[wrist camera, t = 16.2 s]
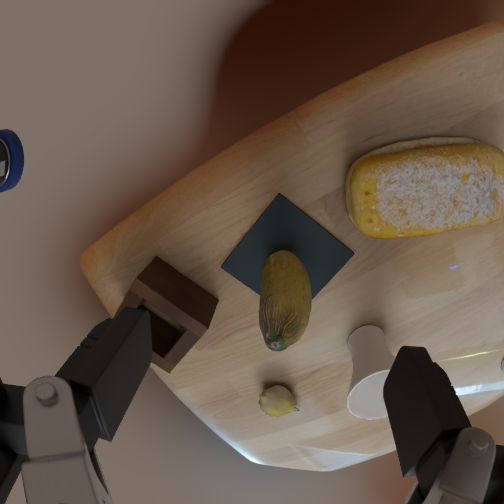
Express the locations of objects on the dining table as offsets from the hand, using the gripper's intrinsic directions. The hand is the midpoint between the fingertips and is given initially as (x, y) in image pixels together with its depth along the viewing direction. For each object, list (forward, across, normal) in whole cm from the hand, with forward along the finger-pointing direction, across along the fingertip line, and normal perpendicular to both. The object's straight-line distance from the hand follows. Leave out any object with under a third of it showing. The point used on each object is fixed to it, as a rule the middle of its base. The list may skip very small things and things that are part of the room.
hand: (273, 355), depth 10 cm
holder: (+36, +15, +22) cm, 45 cm away
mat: (+36, -2, +12) cm, 38 cm away
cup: (+36, -18, +24) cm, 47 cm away
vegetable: (+36, -2, +12) cm, 38 cm away
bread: (+36, -21, -3) cm, 42 cm away
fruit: (+36, -6, +39) cm, 54 cm away
